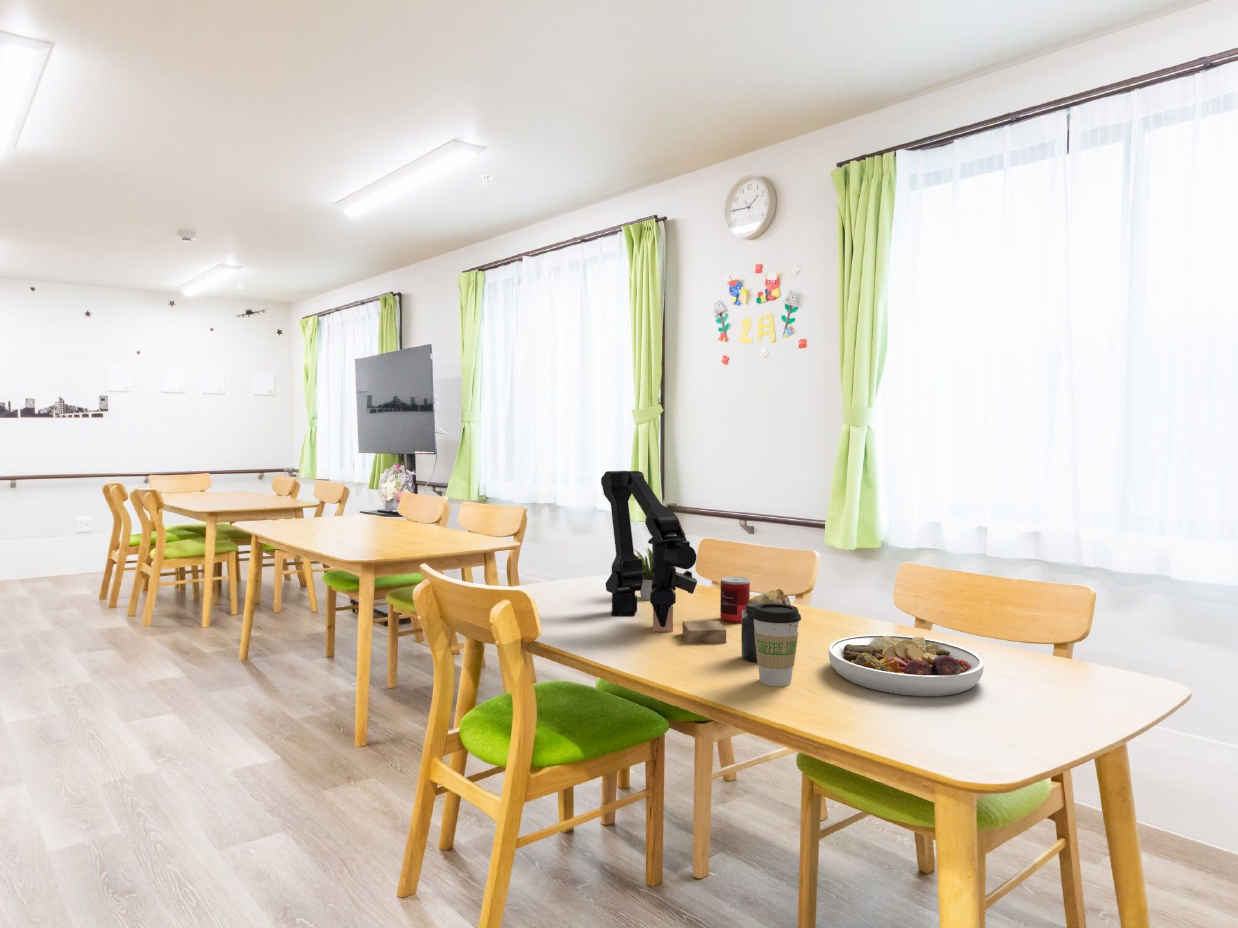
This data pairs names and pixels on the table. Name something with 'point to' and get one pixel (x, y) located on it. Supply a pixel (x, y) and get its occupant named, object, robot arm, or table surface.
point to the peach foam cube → (669, 622)
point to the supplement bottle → (748, 634)
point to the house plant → (646, 575)
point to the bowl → (906, 664)
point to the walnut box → (704, 632)
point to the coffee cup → (776, 642)
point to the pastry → (771, 598)
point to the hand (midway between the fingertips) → (663, 624)
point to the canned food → (734, 598)
